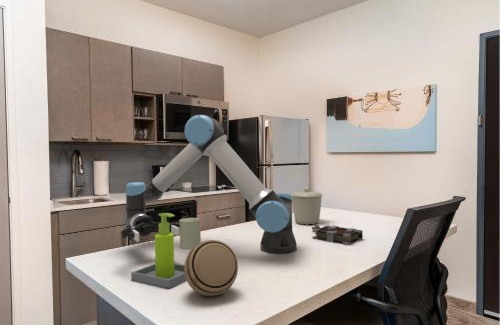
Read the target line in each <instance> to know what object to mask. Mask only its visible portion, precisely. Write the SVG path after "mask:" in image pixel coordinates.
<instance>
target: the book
mask: <svg viewBox="0 0 500 325" xmlns="http://www.w3.org/2000/svg"><path fill="white" fill-rule="evenodd" d="M311 229H312V231H311V232H312V233H315V235H314V236H312V240H316V239H318V241H319V240H320V241H327V242H326V243H331V242H332V243H333V244H334V242H335V243H336V244H342V245H344V246H350V245H351V244H353V243H355V242H360V241H362V240H363V230H361V229H357V228H352V227H350V228H348V227H341V226H338V225H337V226H336V225H325V226H323V227H320V225H318V224H313V226H312V227H311ZM332 243H331V244H332Z"/></svg>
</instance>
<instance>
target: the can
mask: <svg viewBox="0 0 500 325" xmlns="http://www.w3.org/2000/svg"><path fill="white" fill-rule="evenodd" d="M178 221H179V224H180V231H179V235H180V236H179V248H181V249H185V250H189V249H190V250H191V249H192V248H193V247H194V246H196V245H197V244H199V243H201V242H202V240H201V233H202V232H201V218H200V217H185V218H181V219H179V220H178Z"/></svg>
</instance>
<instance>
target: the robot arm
mask: <svg viewBox="0 0 500 325" xmlns="http://www.w3.org/2000/svg"><path fill="white" fill-rule="evenodd" d="M184 137H185V138H186V140H187V142H189V143H188V144H186V146H185V147H184V148H183V149H182V150H181V151H180V152H179V153H178V154H177V155H176V156H175V157H174V158H173V159H172V160H171V161H170V162H169V163H168V164H167V165H166V166H164V168H163V169H162V170H161V171H159V172H158V174H156V175H155V177H153V178H152V180H150V181H149V182H148V183H147V184H145V182H142V181H140V182H139V181H138V182H137V181H136V182H128V183H126V190H125V202H126V203H125V206H126V208H125V209H126V214H125V216H124V223H125V225H126V227H125V228H123V229H122V230H121V234H122V235H121V236H122V237H121V238H122V239H126V238H128V240H129V241H132V240H134V241H135V242H136V243H139V242H140V236H142V237H147V236H148V235H151V234H153V233H159V224H160V223H161V222H157V221H156V222H155V221H154V220H153V218H152V217H150V216H149V215H147V212H146V207H147V204H148V203H152V202H157V201H158V200H160V199H161V198H162V197H163V195H164V192H166V191H167V190H168V189H169V188H170V187H171V186H172V185H173V184H174V183H175V182H176V181H177V180H179V178H181V177H182V176H183V175H184V174H185V173H186V172H187V171H188V170H189V169H190V168H191V167H192V166H193V165H194V164H195V163H196V162H197V161H199V159H201V157H202V156H206V157H207V156H208V157H209V158H211V160H212V161H213V163H215V165H216V166H217V167H218V168H219V170H220V171H222V173H223V174H224V175H225V176H226V177H227V178H228V180H229V181H230V182H231V184H232V185H233V186H234V187H235V188H236V190H238V192H239V193H240V194H241V195H242V196H243V198H245V200H246V201H247V203H248V204H249V205H248V206H249V207H248V209H249V211H250V212H251V213H252V215H253V216H254V217H255V220H256V223H257V226H259V228H261V229H262V230H263V233H262V237H261V240H260V244H259V245H260V246H259V247H260V250H261V251H263V252H266V253H270V254H286V253H287V254H288V253H293V252H295V251H296V250H297V249H298V248H297V246H298V243H297V241H296V238H295V234H294V232H293V202H292V196H291V194H290V193H280V192H279V193H277V192H275V191H274V190H273V189H271V188H267V187H266V186H265V185H264V184H263V183H262V181H261V180H260V179H259V178H258V177H257V176H256V175H255V174H254V172H253V171H252V170H251V169H250V168H249V166H248V165H247V164H246V163H245V161H243V159H242V158H241V157H240V156H239V155H238V154H237V152H236V151H235V149H233V148H232V146H231V145H230V144H229V143H228V142H227V138H228V136H227V135H226V133H225V132H224V127H223V125H222V124H221V122H220V121H219V120H217V119H215V118H213V117H209V116H208V115H205V114H197V115H194V116H192V117H190V118H189V119H188V120H187V122H186V124H185V125H184ZM168 223H169V229H170V233H173V234H174V236H176V237H180V223H176V222H174V223H173V222H168Z"/></svg>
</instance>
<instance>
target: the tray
mask: <svg viewBox="0 0 500 325" xmlns="http://www.w3.org/2000/svg"><path fill="white" fill-rule="evenodd" d="M130 276H131V279H130V280H131V281H133V282H136V281H137V283H141V284H145V283H146V285H149V284H150V285H151V286H154V285H155V286H154V287H158V286H159V288H162V287H163V288H162V289H168V290H170V289H172V288H174V287H176V286H178V285H180V284H182V283H184V282H187V280H186V278H185V274H184V264H183V263H175V262H174V276H172V277H169V278H161V277H156V268H155V263H152V264H149V265H148V266H145V267H142V268H139V269H137V270H134V271H132V272H131V274H130ZM150 285H149V286H150Z"/></svg>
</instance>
